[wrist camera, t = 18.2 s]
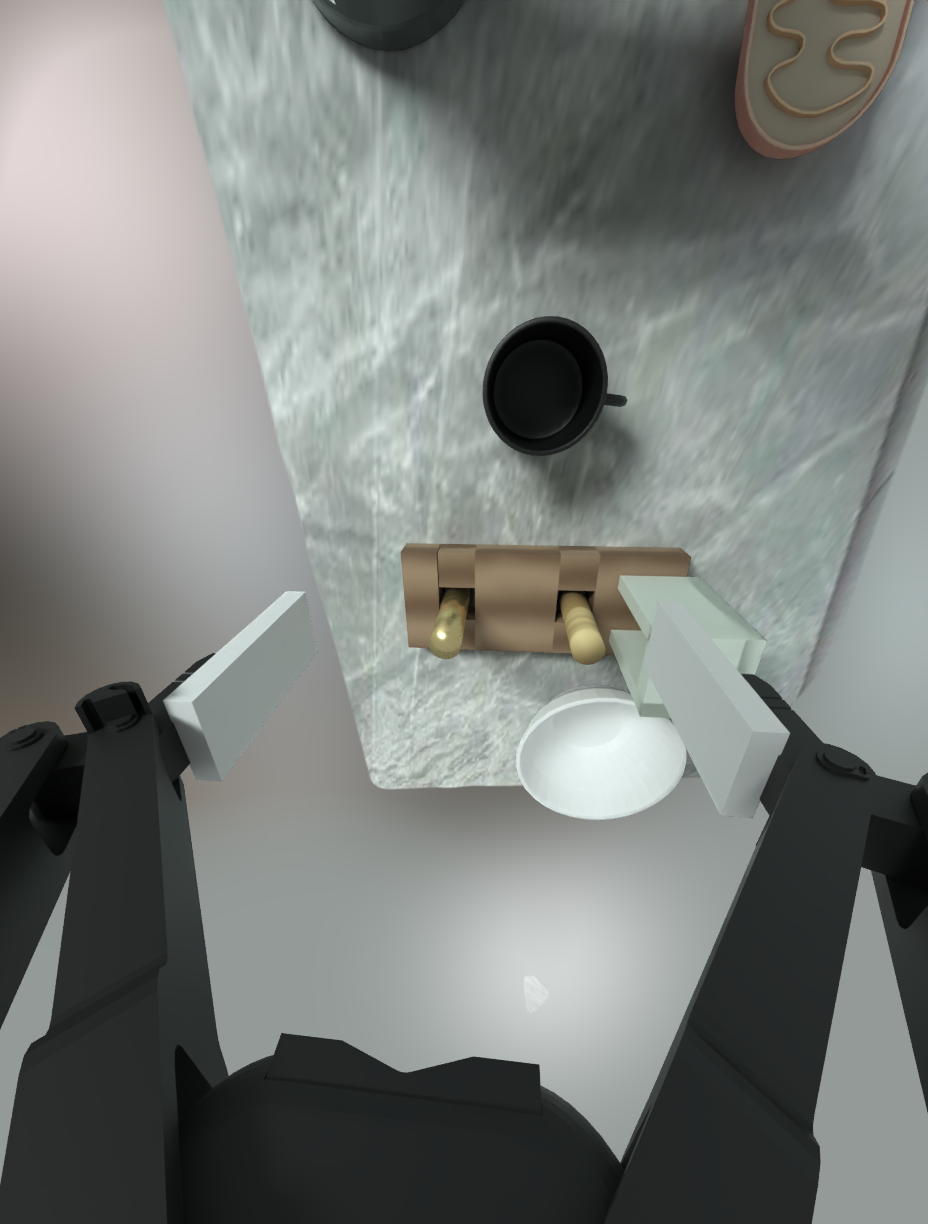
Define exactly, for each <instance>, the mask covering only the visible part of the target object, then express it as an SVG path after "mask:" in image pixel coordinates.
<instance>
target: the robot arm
mask: <svg viewBox="0 0 928 1224" xmlns="http://www.w3.org/2000/svg"><path fill="white" fill-rule="evenodd" d="M312 1H313V2H314V4H315V5H316V7H317V8H318V9H319V10H320V12H321V13H322V14H323V15H324V16H325V17H326V19H327V20H328V21H329V22H330V23H331V24H332V25H333V26H334V27H335V28H337V29H338V30H339V31H340V32H342V33H343V34H344V35H346V36H347V37H349V38H350V39H352V40H354V41H356V42H357V43H360V44H362V45H364V46H367V47H370V48H374V49H379V50H399V49H404V48H408V47H411V46H414V45H417V44H419V43H421V42H423V41H425V40H426V39H428V38H430V37H431V36H433V35H434V34H435V33H437V32H438V31H439V30H440V29H441V28H442V27H443V26H445V25H446V24H447V23H448V22H449V20H450V19H451V18H452V17H453V16H454V15H455V13H456V12H457V11H458V10H459V8H460V7H461V5H462V4H463V3H464V1H465V0H312ZM317 652H318V651H317V647H316V641H315V637H314V631H313V626H312V621H311V616H310V611H309V606H308V601H307V597H306V592H294V591H286V592H285V593H284V594H283V595H282V596H281V597H280V598H278V599H277V600H276V601H275V602H274V603H273V604H272V605H271V606H269V607H268V608H267V609H266V610H265V611H264V612H263V613H261V614H260V615H259V616H258V617H257V618H256V619H255V620H254V621H252V622H251V623H250V624H249V625H248V626H247V627H246V628H245V629H243V630H242V631H241V632H240V633H239V634H238V635H236V636H235V637H234V638H233V639H232V640H231V641H230V642H229V643H227V644H226V645H225V646H224V647H223V648H222V649H221V650H220V651H218V652H217V653H212V654H210V655H208V656H207V657H205V658H203V659H201V660H199V661H197V662H196V663H194V664H193V665H192V666H191V667H190V668H189V669H187V670H186V671H185V674H182V675H180V676H179V677H178V678H177V679H176V680H175V682H172V683H171V684H170V685H169V686H168V687H166V688H165V689H164V690H163V691H162V692H161V693H159V694H158V695H157V696H156V697H155V698H154V699H152V700H151V701H150V702H149V703H148V702H147V700H146V698H145V696H144V693H143V691H142V689H141V687H140V685H139V684H138V683H135V682H119V683H114V684H110V685H107V686H104V687H102V688H99V689H97V690H94V691H93V692H91V693H89V694H87V695H85V696H84V697H83V698H82V699H81V700H79V701H78V703H77V704H76V706H75V710H76V712H77V714H78V715H79V717H80V719H81V721H82V723H83V725H84V726H85V728H86V730H87V732H84V733H78V734H72V735H66V736H64V735H63V733H62V731H61V730H60V728H59V726H58V725H57V724H56V723H54V722H49V721H46V722H37V723H34V724H30V725H24V726H22V727H19V728H18V729H15V730H12V731H10V732H8V733H7V734H6V735H4V736H2V737H1V738H0V1029H1V1026H2V1024H3V1022H4V1020H5V1017H6V1015H7V1013H8V1011H9V1008H10V1006H11V1004H12V1002H13V999H14V997H15V995H16V992H17V990H18V988H19V986H20V984H21V981H22V979H23V977H24V975H25V972H26V970H27V968H28V966H29V963H30V961H31V959H32V956H33V954H34V952H35V950H36V947H37V945H38V943H39V940H40V938H41V936H42V934H43V931H44V929H45V927H46V925H47V923H48V920H49V918H50V916H51V914H52V911H53V909H54V907H55V904H56V902H57V900H58V898H59V896H60V893H61V891H62V889H63V887H64V884H65V882H66V880H67V877H68V875H69V873H70V880H69V888H68V895H67V904H66V910H65V918H64V926H63V933H62V941H61V948H60V956H59V964H58V971H57V979H56V986H55V994H54V1002H53V1009H52V1017H51V1022H50V1026H49V1030H48V1031H47V1033H46V1035H45V1036H43V1037H41V1038H40V1039H38V1040H36V1041H35V1042H33V1043H31V1045H30V1047H29V1048H28V1050H27V1052H26V1054H25V1055H24V1058H23V1061H22V1065H21V1069H20V1073H19V1077H18V1083H17V1089H16V1095H15V1100H14V1107H13V1112H12V1118H11V1125H10V1130H9V1136H8V1142H7V1148H6V1154H5V1160H4V1166H3V1172H2V1178H1V1184H0V1224H812V1217H813V1212H814V1206H815V1200H816V1194H817V1188H818V1180H819V1171H820V1146H819V1145H818V1143H817V1141H816V1139H815V1137H814V1135H813V1120H814V1114H815V1108H816V1103H817V1098H818V1092H819V1087H820V1082H821V1076H822V1071H823V1066H824V1061H825V1055H826V1050H827V1045H828V1039H829V1034H830V1028H831V1023H832V1018H833V1013H834V1007H835V1002H836V997H837V991H838V986H839V980H840V976H841V970H842V965H843V960H844V954H845V948H846V944H847V939H848V933H849V928H850V923H851V917H852V912H853V907H854V901H855V896H856V891H857V886H858V880H859V875H860V869H861V867H863V868H866V869H869V870H871V872H872V876H873V880H874V885H875V889H876V893H877V898H878V902H879V906H880V910H881V915H882V919H883V923H884V927H885V931H886V936H887V940H888V945H889V949H890V953H891V958H892V962H893V966H894V970H895V975H896V979H897V983H898V988H899V991H900V996H901V1000H902V1004H903V1009H904V1013H905V1018H906V1022H907V1026H908V1030H909V1035H910V1039H911V1043H912V1048H913V1052H914V1056H915V1060H916V1064H917V1069H918V1073H919V1077H920V1082H921V1086H922V1090H923V1095H924V1099H925V1103H926V1107H927V1112H928V773H927V774H925V775H924V776H922V778H921V779H920V781H919V782H918V784H917V785H916V786H915V785H911V784H907V783H903V782H900V781H896V780H892V779H888V778H884V777H880V776H877V775H876V774H875V772H874V771H873V770H872V769H871V768H870V766H869V765H868V764H867V763H865V762H864V761H862V760H861V759H860V758H859V757H857V756H856V755H854V754H852V753H850V752H848V751H846V750H844V749H842V748H839V747H836V746H833V745H830V744H824V743H822V741H821V740H820V739H819V738H818V737H817V736H816V735H815V734H814V733H813V732H812V730H811V729H810V728H809V727H808V726H807V725H806V724H805V723H804V721H802V720H801V718H800V717H799V716H798V715H797V714H796V713H795V712H794V711H793V710H791V707H790V706H789V705H788V704H787V703H786V702H785V701H784V700H782V697H781V696H780V695H779V694H778V693H777V692H776V691H775V690H774V688H773V687H772V686H771V685H769V684H768V683H766V682H765V681H763V680H762V679H760V678H758V677H757V676H755V675H754V674H740V673H739V672H738V670H737V669H736V668H735V667H734V666H733V664H732V663H731V662H730V661H729V660H728V658H727V657H726V656H725V655H724V654H723V652H722V651H721V650H720V649H719V648H718V646H717V645H716V644H715V643H714V642H713V640H712V639H711V638H710V637H709V636H708V635H707V633H706V632H705V631H704V630H703V629H702V627H701V626H700V625H699V624H698V623H697V621H696V620H695V619H694V618H693V617H692V615H691V614H690V613H689V612H688V611H687V609H686V608H685V607H684V606H683V605H682V603H681V602H663V601H658V604H657V608H656V613H655V618H654V622H653V627H652V632H651V636H650V641H649V645H648V650H647V655H646V659H645V664H644V666H645V668H646V670H647V672H648V674H649V676H650V678H651V680H652V682H653V684H654V686H655V688H656V690H657V692H658V694H659V696H660V698H661V700H662V702H663V704H664V706H665V708H666V710H667V712H668V714H669V715H670V717H671V719H672V721H673V723H674V725H675V727H676V729H677V731H678V733H679V735H680V737H681V739H682V741H683V743H684V745H685V747H686V749H687V751H688V753H689V755H690V757H691V759H692V761H693V763H694V765H695V767H696V769H697V771H698V773H699V775H700V777H701V779H702V781H703V782H704V785H705V786H706V789H707V790H708V792H709V795H710V797H711V798H712V800H713V802H714V804H715V806H716V808H717V810H718V812H719V814H720V816H730V817H744V818H753V816H754V814H755V812H756V810H757V807H758V805H759V803H760V801H761V803H762V804H763V805H764V807H765V809H766V811H767V812H768V814H769V815H770V816H769V818H768V820H767V822H766V825H765V827H764V829H763V831H762V833H761V835H760V837H759V840H758V842H757V844H756V848H755V851H754V853H753V855H752V858H751V860H750V862H749V865H748V867H747V869H746V872H745V874H744V876H743V879H742V881H741V883H740V886H739V888H738V890H737V893H736V895H735V897H734V900H733V902H732V904H731V907H730V909H729V911H728V914H727V916H726V918H725V921H724V923H723V925H722V928H721V930H720V932H719V935H718V937H717V939H716V942H715V944H714V947H713V949H712V951H711V954H710V956H709V958H708V961H707V963H706V965H705V968H704V970H703V972H702V975H701V977H700V979H699V982H698V984H697V987H696V989H695V991H694V993H693V996H692V998H691V1000H690V1003H689V1005H688V1007H687V1010H686V1012H685V1015H684V1017H683V1019H682V1022H681V1024H680V1026H679V1029H678V1031H677V1033H676V1036H675V1038H674V1040H673V1043H672V1045H671V1047H670V1050H669V1052H668V1055H667V1057H666V1059H665V1061H664V1064H663V1066H662V1068H661V1071H660V1073H659V1076H658V1078H657V1080H656V1082H655V1085H654V1087H653V1089H652V1092H651V1094H650V1096H649V1099H648V1101H647V1103H646V1105H645V1108H644V1110H643V1112H642V1114H641V1117H640V1119H639V1121H638V1123H637V1126H636V1128H635V1130H634V1132H633V1134H632V1137H631V1139H630V1142H629V1144H628V1146H627V1149H626V1151H625V1153H624V1155H623V1158H622V1160H621V1162H619V1161H618V1159H617V1158H616V1156H615V1155H614V1154H613V1152H612V1151H611V1149H610V1148H609V1146H608V1145H607V1144H606V1142H605V1141H604V1139H603V1138H602V1137H601V1135H600V1134H599V1133H598V1132H597V1131H596V1130H595V1129H594V1127H593V1126H592V1125H591V1124H590V1123H589V1122H588V1121H587V1119H585V1118H584V1117H583V1116H582V1115H581V1114H580V1113H579V1112H578V1111H577V1110H576V1109H575V1108H574V1107H573V1106H572V1105H571V1104H569V1103H568V1102H566V1101H565V1100H563V1099H562V1098H561V1097H559V1096H558V1095H557V1094H555V1093H554V1092H552V1091H550V1090H548V1089H546V1088H544V1087H542V1086H541V1085H540V1070H539V1065H538V1064H530V1063H522V1062H514V1061H505V1060H497V1059H489V1058H481V1057H470V1058H466V1059H462V1060H458V1061H454V1062H450V1063H446V1064H442V1065H437V1066H433V1067H429V1068H425V1069H421V1070H417V1071H413V1072H408V1073H404V1072H399V1071H397V1070H395V1069H393V1068H391V1067H390V1066H388V1065H386V1064H384V1063H382V1062H380V1061H379V1060H377V1059H375V1058H373V1057H371V1056H369V1055H368V1054H366V1053H364V1052H362V1051H360V1050H359V1049H357V1048H355V1047H353V1046H351V1045H349V1044H348V1043H345V1042H344V1041H342V1040H333V1039H325V1038H317V1037H309V1036H301V1035H292V1034H284V1033H281V1036H280V1039H279V1042H278V1045H277V1047H276V1050H275V1053H274V1055H272V1056H268V1057H265V1058H263V1059H261V1060H258V1061H256V1062H253V1063H251V1064H249V1065H247V1066H245V1067H243V1068H241V1069H240V1070H238V1071H236V1072H234V1073H233V1074H231V1075H230V1076H228V1072H227V1068H226V1065H225V1061H224V1058H223V1055H222V1052H221V1049H220V1045H219V1041H218V1035H217V1029H216V1022H215V1015H214V1007H213V999H212V992H211V984H210V977H209V970H208V963H207V954H206V947H205V939H204V932H203V924H202V917H201V909H200V902H199V895H198V887H197V880H196V873H195V865H194V857H193V850H192V842H191V835H190V827H189V820H188V812H187V805H186V798H185V790H184V784H183V781H182V779H181V777H180V774H181V773H182V772H183V771H184V770H185V768H186V767H187V766H188V765H189V764H190V767H191V769H192V771H193V774H194V776H195V778H196V780H207V781H223V780H224V778H225V777H226V776H227V774H228V773H229V771H230V770H231V769H232V767H233V766H234V765H235V763H236V762H237V761H238V759H239V758H240V757H241V755H242V754H243V753H244V751H245V750H246V749H247V747H248V746H249V744H250V743H251V742H252V740H253V739H254V738H255V736H256V735H257V734H258V732H259V731H260V729H261V728H262V727H263V725H264V724H265V723H266V722H267V720H268V719H269V717H270V716H271V715H272V713H273V712H274V711H275V709H276V708H277V707H278V705H279V704H280V703H281V701H282V700H283V698H284V697H285V696H286V694H287V693H288V692H289V690H290V689H291V688H292V686H293V685H294V684H295V682H296V681H297V680H298V678H299V677H300V676H301V674H302V673H303V671H304V670H305V669H306V667H307V666H308V665H309V663H310V662H311V661H312V659H313V658H314V657H315V655H316V654H317ZM70 871H71V872H70Z"/></svg>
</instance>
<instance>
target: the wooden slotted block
mask: <svg viewBox="0 0 928 1224" xmlns="http://www.w3.org/2000/svg"><path fill="white" fill-rule="evenodd" d="M401 561H402V572H403V584H404V596H405V608H406V620H407V632H408V644H409V647H416V648H430V647H429V641H430V638H431V635H432V632H433V629H434V625H435V622H436V619H437V616H438V613H439V610H440V606H441V603H442V600H443V593H442V587H453V588H475V608H468V611H467V616H466V621H465V627H464V632H463V638H462V643H461V648H460V649H468V650H495V651H521V652H547V653H572V656H573V658H574V659H575V660H576V661H577V662H579V663H581V664H586V665H589V664H594V663H596V662H598V661H600V660H601V659H602V658H603V656H604V655H614V652H613V650H612V647H611V645H610V642H609V638H610V632H611V630H637V631H642V630H641V628H640V627H639V625H638V623H637V621H636V620H635V618H634V616H633V614H632V613H631V611H630V609H629V607H628V606H627V604H626V602H625V600H624V599H623V597H622V595H621V593H620V592H619V590H618V584H619V578H620V575H627V576H672V577H687V573H688V569H689V565H690V561H691V557H690V556H689V555H688V554H687V553H686V552H685V551H683V550H682V549H681V548H650V547H590V546H529V545H468V544H408V543H407V544H406V545H405V547H404V548H403V550H402V551H401ZM558 590H560V591H559V593H558ZM584 591H589V597H588V601H587V599H586V596H585V594H584ZM557 593H558V600H559V604H560V608H561V611H556V604H557Z"/></svg>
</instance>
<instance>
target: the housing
mask: <svg viewBox="0 0 928 1224" xmlns="http://www.w3.org/2000/svg"><path fill="white" fill-rule="evenodd" d="M618 590H619V592H620V593H621V595H622V597H623V599H624V600H625V602H626V604H627V606H628V607H629V609H630V611H631V613H632V614H633V616H634V618H635V620H636V621H637V623H638V625H639V627H640V628H641V630H642V631H637V630H611V632H610V638H609V642H610V645H611V647H612V650H613V652H614V655H615V657H616V659H617V662H618V664H619V667H620V669H621V672H622V674H623V676H624V679H625V681H626V684H627V686H628V688H629V691H630V693H631V696H632V698H633V701H634V703H635V705H636V708H637V710H638V713H639V715H640V717H654V718H671V717H670V715H669V714H668V712H667V710H666V708H665V706H664V704H663V702H662V700H661V698H660V696H659V694H658V692H657V690H656V688H655V686H654V684H653V682H652V680H651V678H650V676H649V674H648V672H647V670H646V668H645V666H644V664H645V659H646V655H647V650H648V645H649V641H650V636H651V632H652V627H653V622H654V618H655V613H656V608H657V604H658V601H663V602H681V603H682V605H683V606H684V607H685V608H686V609H687V611H688V612H689V613H690V614H691V615H692V617H693V618H694V619H695V620H696V621H697V623H698V624H699V625H700V626H701V627H702V629H703V630H704V631H705V632H706V633H707V635H708V636H709V637H710V638H711V639H712V640H713V642H714V643H715V644H716V645H717V646H718V648H719V649H720V650H721V651H722V652H723V654H724V655H725V656H726V657H727V658H728V660H729V661H730V662H731V663H732V664H733V666H734V667H735V668H736V669H737V670H738V672H739V673H740V674H754V675H755V672H756V670H757V667H758V664H759V661H760V659H761V656H762V653H763V650H764V648H765V645H766V642H767V640H766V639H765V638H764V637H763V636H762V635H761V634H760V633H759V632H758V631H757V630H756V629H754V628H753V627H752V626H751V625H750V624H749V623H748V622H747V621H746V620H745V619H744V618H743V617H742V616H741V615H740V614H739V613H737V612H736V611H735V610H734V609H733V608H732V607H731V606H730V605H729V604H728V603H727V602H726V601H725V600H724V599H723V598H722V597H721V596H719V595H718V594H717V593H716V592H715V591H714V590H713V589H712V588H711V587H710V586H709V585H708V584H707V583H706V582H705V581H704V580H702V579H701V578H700V577H672V576H627V575H620V578H619V584H618Z"/></svg>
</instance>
